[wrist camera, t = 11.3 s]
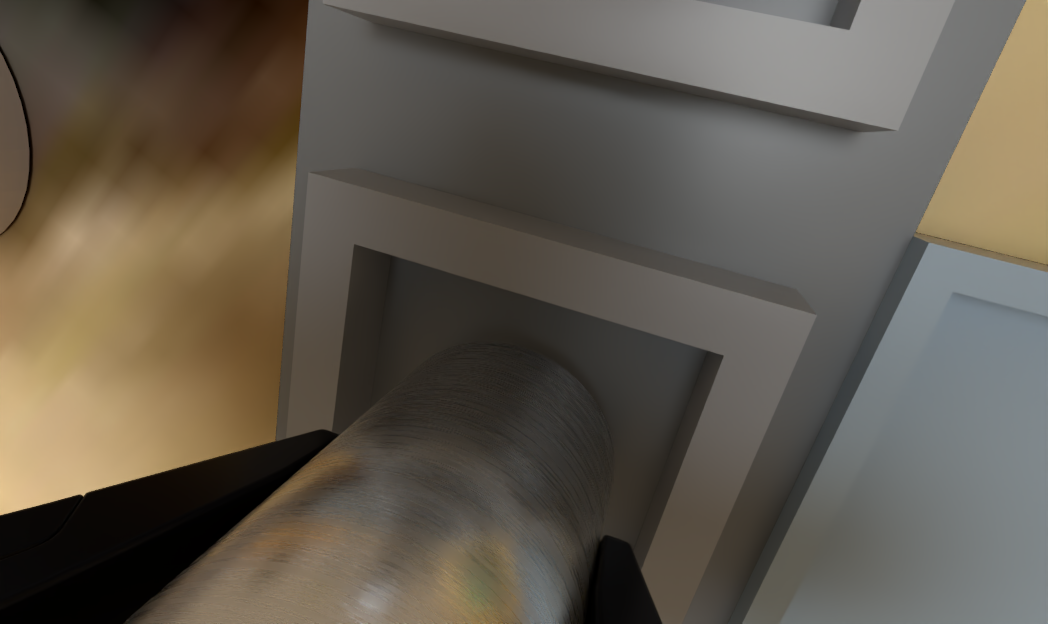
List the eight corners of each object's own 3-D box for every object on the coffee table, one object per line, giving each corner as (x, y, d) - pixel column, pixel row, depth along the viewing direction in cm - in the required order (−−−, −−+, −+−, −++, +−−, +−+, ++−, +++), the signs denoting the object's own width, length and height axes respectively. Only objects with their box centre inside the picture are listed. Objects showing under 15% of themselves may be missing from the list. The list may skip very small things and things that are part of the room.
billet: (646, 386, 9) (521, 1291, 2) (579, 580, 11) (370, 1498, 4) (410, 310, 10) (-303, 764, 3) (379, 502, 12) (-137, 1124, 4)
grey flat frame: (1270, -613, 6) (1646, -1092, 4) (701, 629, 13) (706, 742, 11) (406, -618, 8) (291, -942, 6) (300, 473, 15) (226, 538, 13)
